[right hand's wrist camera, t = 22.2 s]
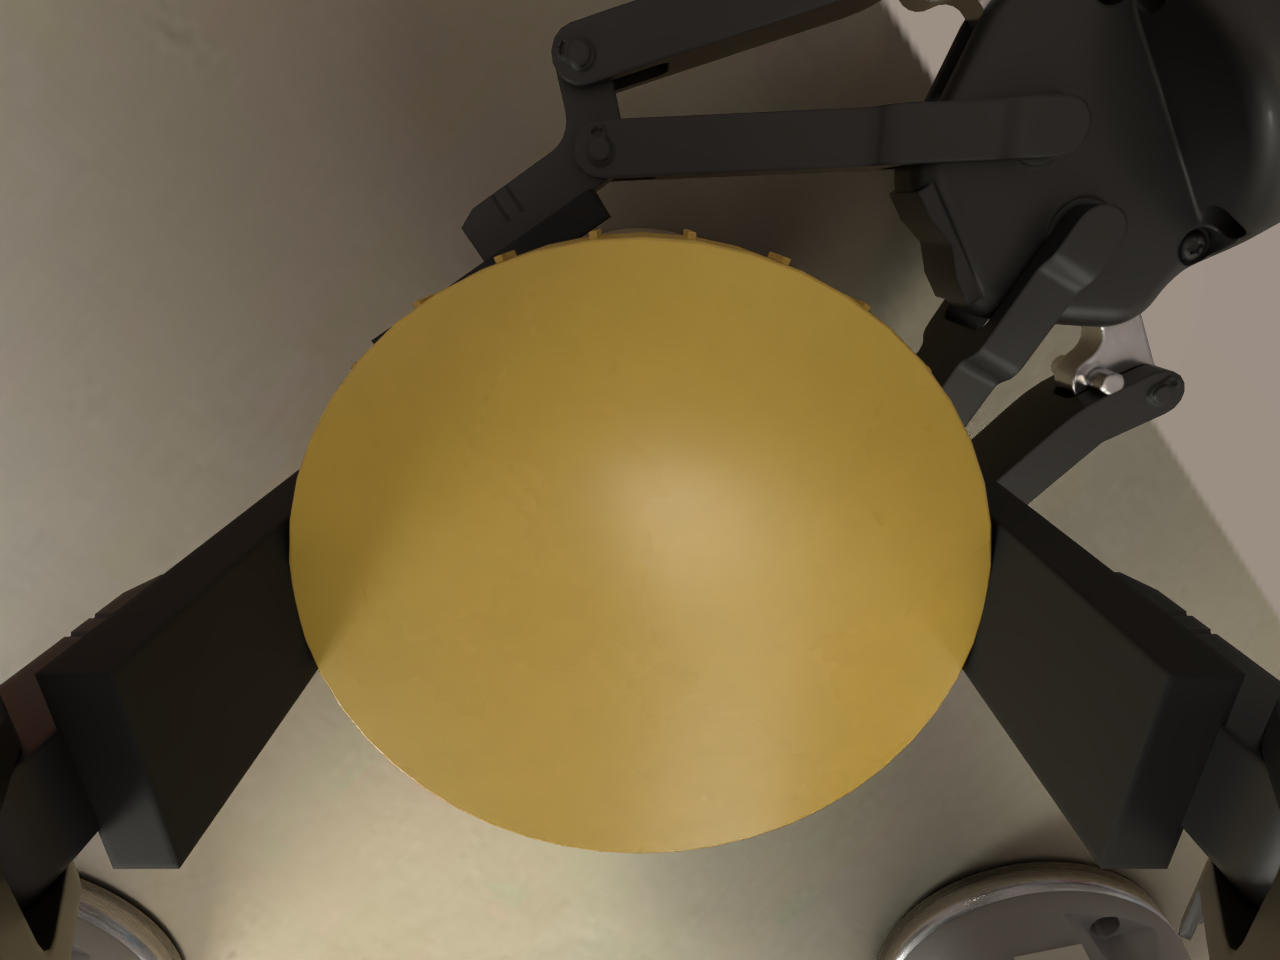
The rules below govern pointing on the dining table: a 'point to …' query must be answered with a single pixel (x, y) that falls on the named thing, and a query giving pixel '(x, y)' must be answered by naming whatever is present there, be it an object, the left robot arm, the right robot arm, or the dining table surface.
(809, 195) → the dining table surface
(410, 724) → the lid
